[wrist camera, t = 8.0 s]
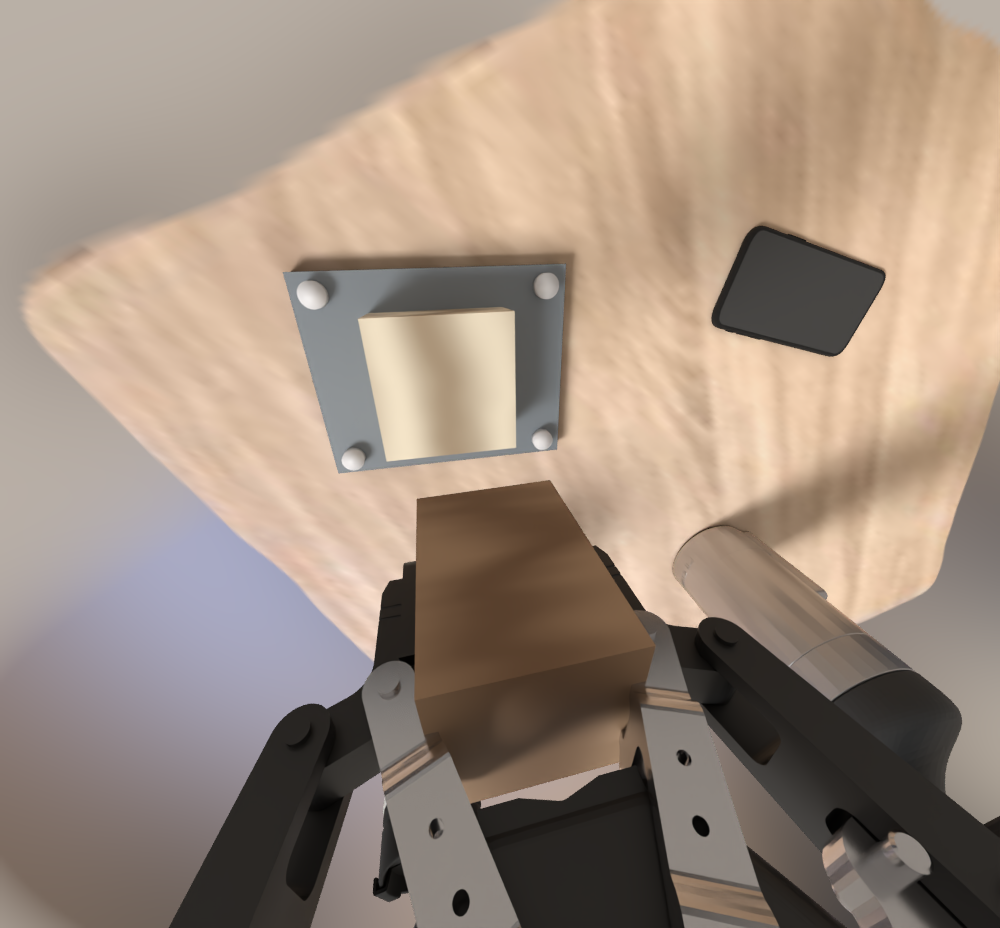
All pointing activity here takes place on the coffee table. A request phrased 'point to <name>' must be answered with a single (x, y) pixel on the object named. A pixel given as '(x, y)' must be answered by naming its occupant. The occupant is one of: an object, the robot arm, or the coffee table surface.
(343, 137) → the coffee table surface
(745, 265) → the smartphone
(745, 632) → the robot arm
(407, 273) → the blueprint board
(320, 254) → the coffee table surface
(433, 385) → the birch plinth
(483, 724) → the walnut block
